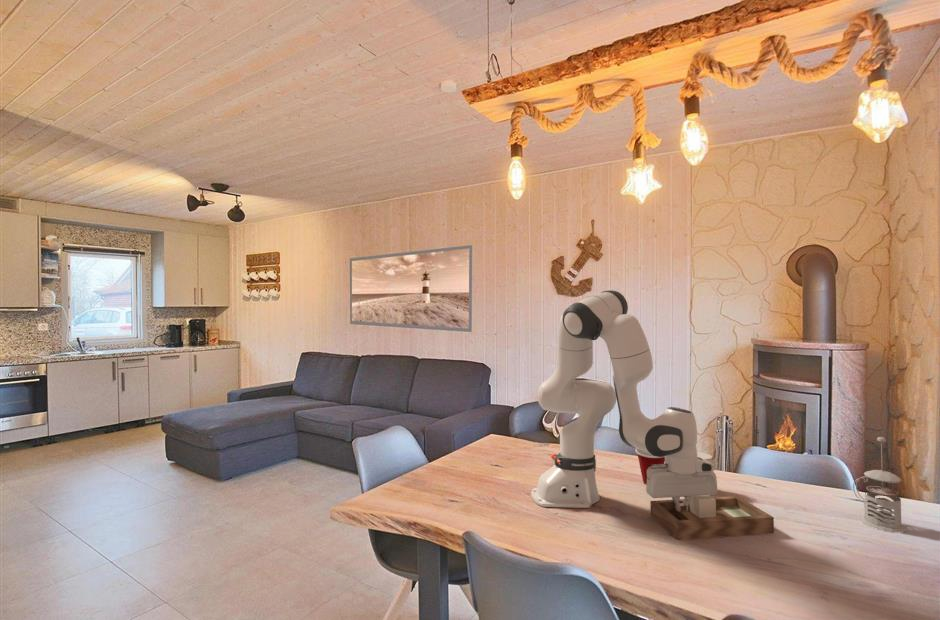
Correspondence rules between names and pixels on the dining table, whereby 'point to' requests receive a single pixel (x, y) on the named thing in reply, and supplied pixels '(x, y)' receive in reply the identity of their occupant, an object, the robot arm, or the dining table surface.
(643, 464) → the plastic cup
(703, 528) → the box
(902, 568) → the dining table surface
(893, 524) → the french press
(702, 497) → the block
